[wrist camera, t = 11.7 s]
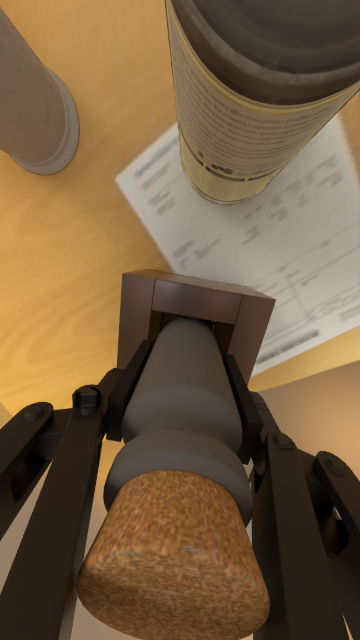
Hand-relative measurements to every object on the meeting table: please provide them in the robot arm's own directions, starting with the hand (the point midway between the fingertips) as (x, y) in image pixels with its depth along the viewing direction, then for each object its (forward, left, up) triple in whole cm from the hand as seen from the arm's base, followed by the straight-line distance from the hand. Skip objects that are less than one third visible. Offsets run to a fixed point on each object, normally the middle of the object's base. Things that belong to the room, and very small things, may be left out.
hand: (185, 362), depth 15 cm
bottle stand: (0, 0, -9) cm, 9 cm away
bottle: (0, 0, -4) cm, 4 cm away
